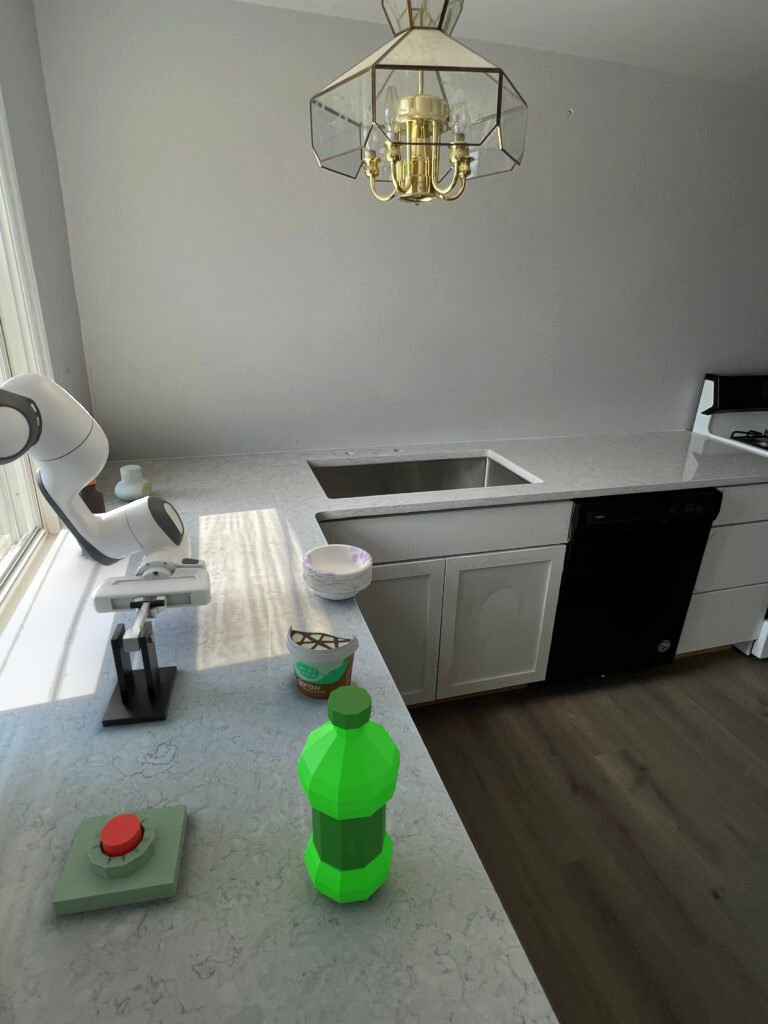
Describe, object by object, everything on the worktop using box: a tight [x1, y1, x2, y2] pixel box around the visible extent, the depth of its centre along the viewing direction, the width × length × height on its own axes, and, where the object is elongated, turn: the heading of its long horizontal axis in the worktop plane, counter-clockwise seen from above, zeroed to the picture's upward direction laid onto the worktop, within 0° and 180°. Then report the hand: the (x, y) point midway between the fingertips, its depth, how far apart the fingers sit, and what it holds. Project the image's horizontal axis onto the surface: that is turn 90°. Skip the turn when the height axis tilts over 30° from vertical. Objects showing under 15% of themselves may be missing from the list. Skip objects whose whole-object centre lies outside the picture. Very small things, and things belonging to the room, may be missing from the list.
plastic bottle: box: [296, 684, 401, 904], centre depth 59 cm, size 10×10×25 cm
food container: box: [285, 624, 360, 700], centre depth 90 cm, size 12×6×10 cm, turn 76°
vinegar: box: [78, 477, 107, 556], centre depth 135 cm, size 7×7×20 cm
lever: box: [122, 599, 165, 653], centre depth 90 cm, size 13×6×2 cm, turn 11°
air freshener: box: [114, 464, 153, 502], centre depth 171 cm, size 11×8×10 cm
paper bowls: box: [302, 543, 373, 601], centre depth 122 cm, size 15×15×8 cm
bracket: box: [101, 620, 178, 728], centre depth 87 cm, size 12×9×13 cm
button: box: [101, 814, 142, 857], centre depth 62 cm, size 4×4×2 cm
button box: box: [51, 804, 189, 917], centre depth 63 cm, size 12×10×4 cm
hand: (146, 615), depth 95 cm, fingers closed, pressing on lever
